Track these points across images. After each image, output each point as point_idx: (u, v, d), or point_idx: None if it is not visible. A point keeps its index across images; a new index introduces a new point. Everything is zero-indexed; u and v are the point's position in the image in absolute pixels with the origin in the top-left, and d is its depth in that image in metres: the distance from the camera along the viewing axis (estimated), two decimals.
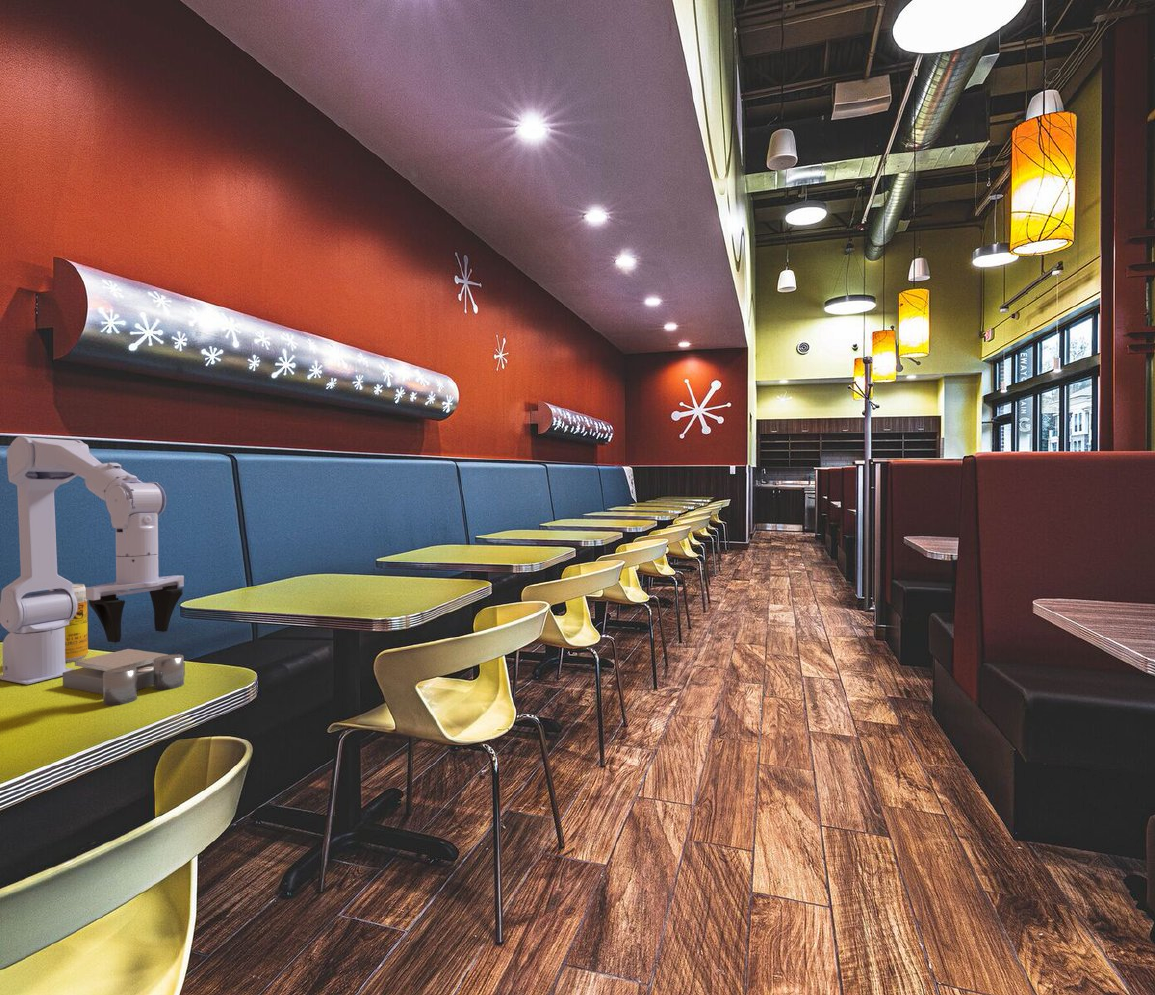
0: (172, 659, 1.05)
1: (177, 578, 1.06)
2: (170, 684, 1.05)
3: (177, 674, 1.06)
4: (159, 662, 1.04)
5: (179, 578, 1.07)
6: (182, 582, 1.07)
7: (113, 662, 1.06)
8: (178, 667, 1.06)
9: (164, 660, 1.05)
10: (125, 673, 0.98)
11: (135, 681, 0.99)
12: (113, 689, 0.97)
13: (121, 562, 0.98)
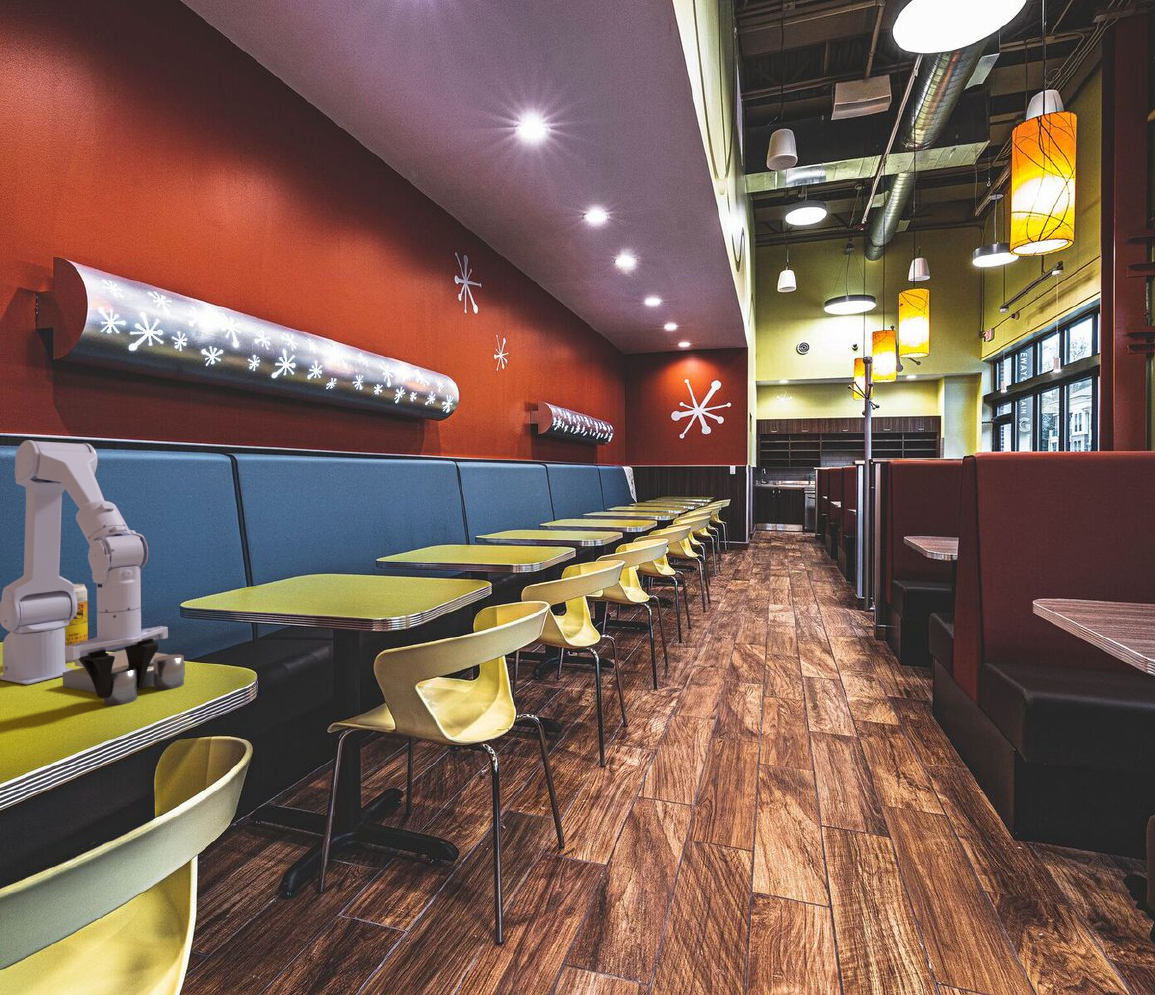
0: (172, 659, 1.05)
1: (161, 630, 1.04)
2: (170, 684, 1.05)
3: (177, 674, 1.06)
4: (159, 662, 1.04)
5: (163, 630, 1.04)
6: (166, 634, 1.05)
7: (113, 662, 1.06)
8: (178, 667, 1.06)
9: (164, 660, 1.05)
10: (125, 673, 0.98)
11: (135, 681, 0.99)
12: (113, 689, 0.97)
13: (102, 618, 0.96)
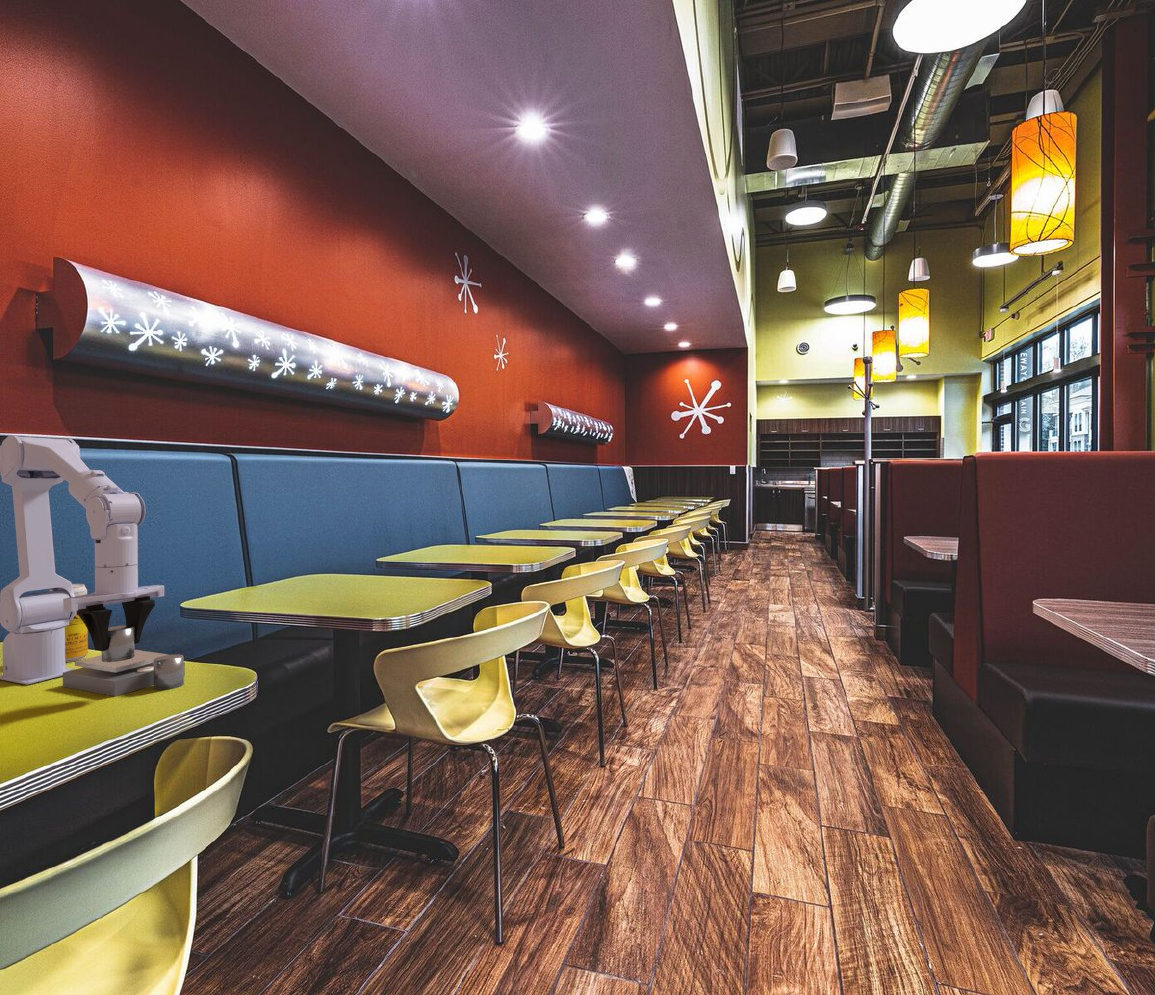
0: (172, 659, 1.05)
1: (157, 588, 1.06)
2: (170, 684, 1.05)
3: (177, 674, 1.06)
4: (159, 662, 1.04)
5: (159, 588, 1.07)
6: (163, 592, 1.07)
7: (113, 662, 1.06)
8: (178, 667, 1.06)
9: (164, 660, 1.05)
10: (122, 631, 1.00)
11: (132, 639, 1.02)
12: (110, 646, 0.99)
13: (100, 573, 0.98)
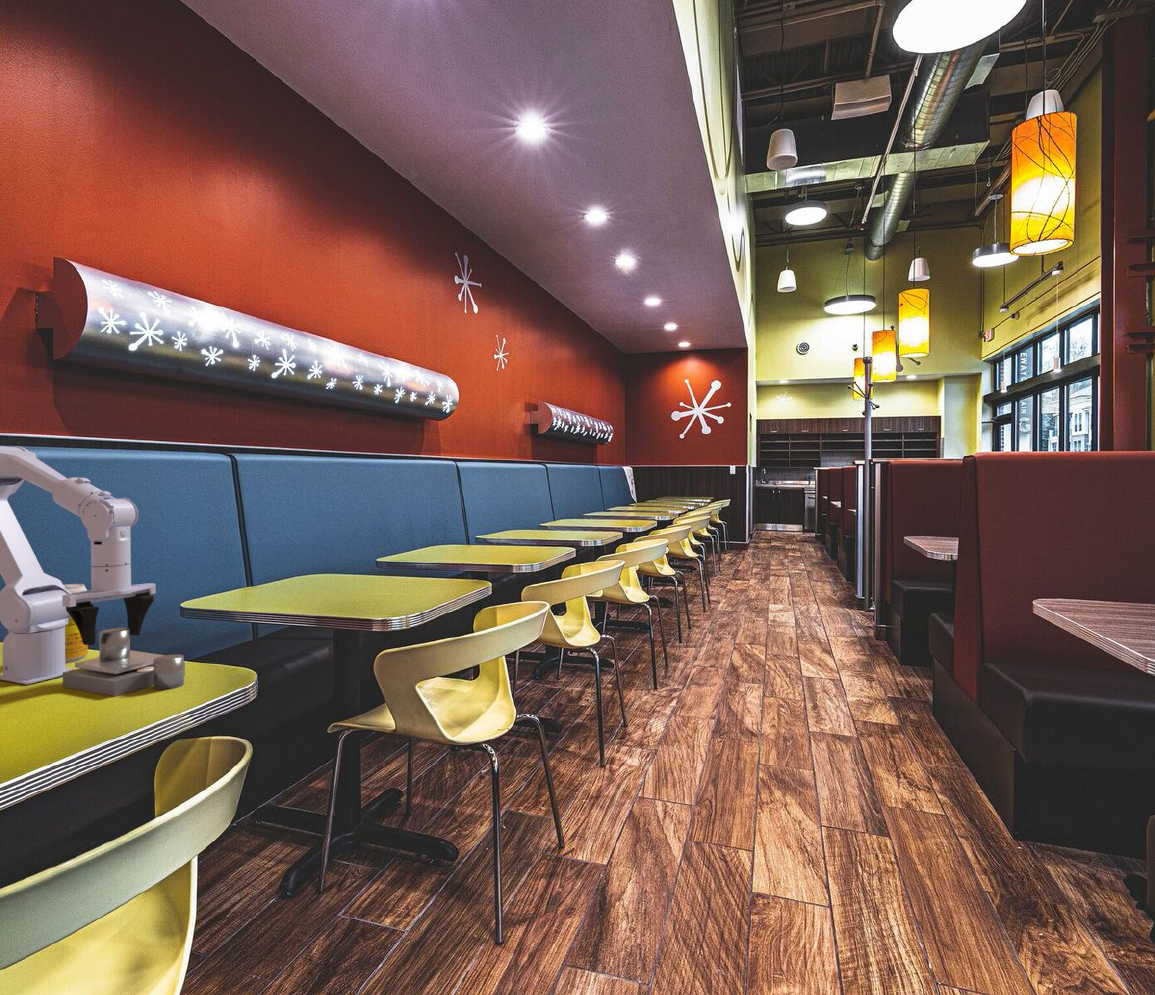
0: (172, 659, 1.05)
1: (149, 586, 1.15)
2: (170, 684, 1.05)
3: (177, 674, 1.06)
4: (159, 662, 1.04)
5: (151, 586, 1.16)
6: (154, 590, 1.16)
7: (113, 663, 1.06)
8: (178, 667, 1.06)
9: (164, 660, 1.05)
10: (116, 633, 1.08)
11: (127, 641, 1.10)
12: (106, 647, 1.08)
13: (96, 572, 1.07)
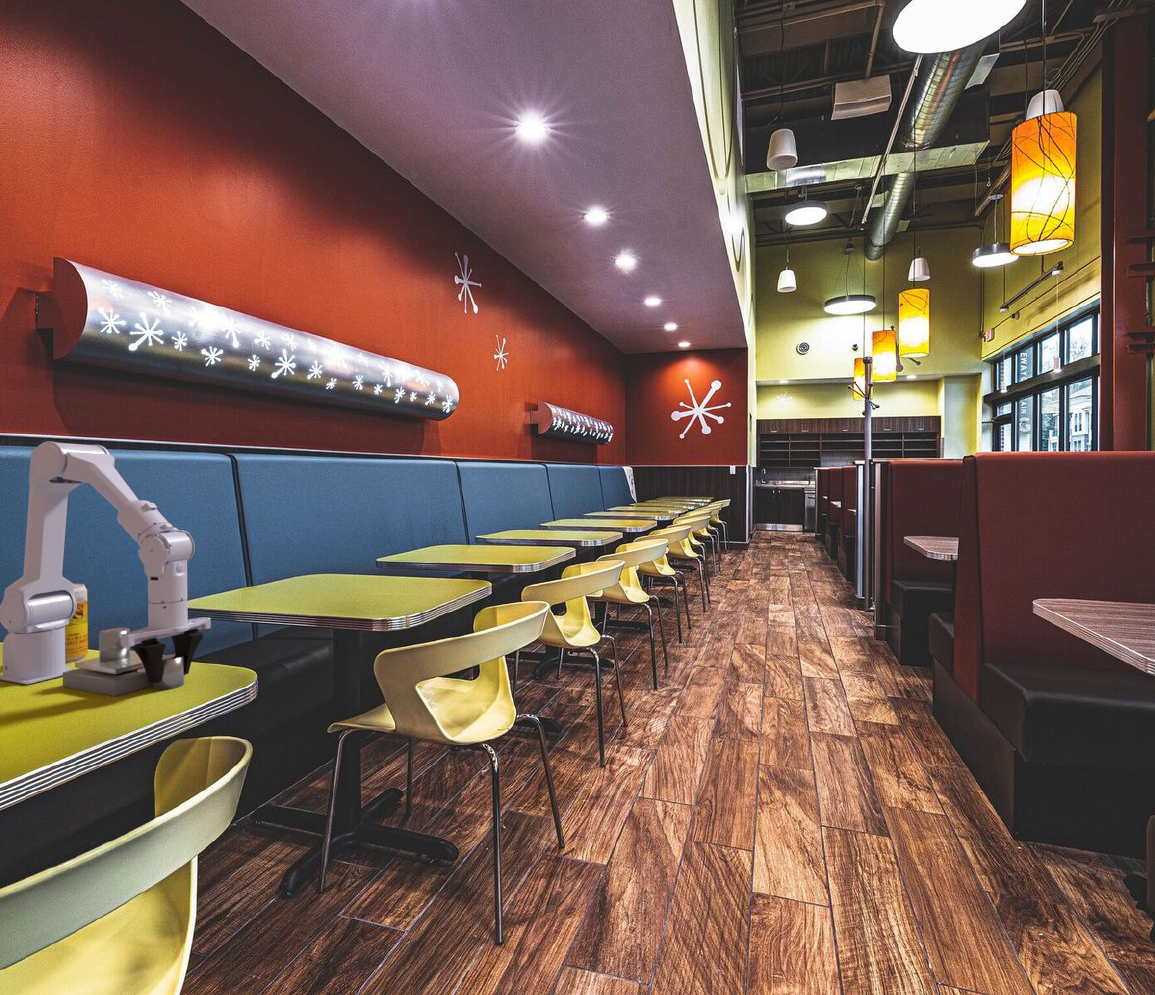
0: (172, 659, 1.05)
1: (204, 620, 1.11)
2: (171, 683, 1.05)
3: (177, 674, 1.06)
4: None
5: (206, 620, 1.12)
6: (209, 624, 1.12)
7: (113, 663, 1.06)
8: (178, 667, 1.06)
9: (164, 660, 1.05)
10: (116, 633, 1.08)
11: None
12: (106, 647, 1.08)
13: (153, 609, 1.03)
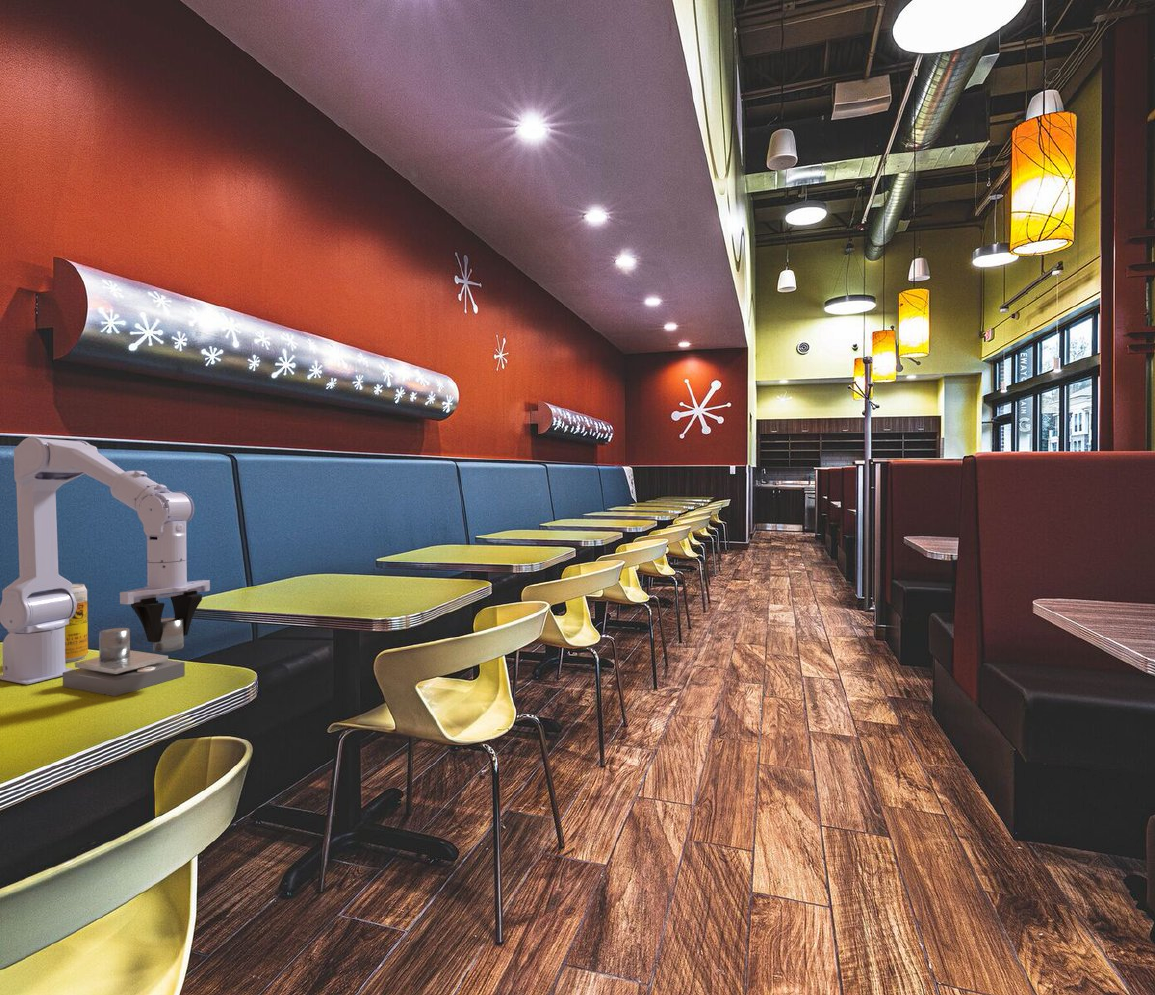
0: (172, 621, 1.05)
1: (204, 583, 1.11)
2: (170, 645, 1.05)
3: (177, 637, 1.06)
4: None
5: (205, 583, 1.12)
6: (208, 587, 1.12)
7: (113, 663, 1.06)
8: (178, 629, 1.06)
9: (164, 622, 1.05)
10: (116, 633, 1.08)
11: (127, 641, 1.10)
12: (106, 647, 1.08)
13: (152, 568, 1.03)
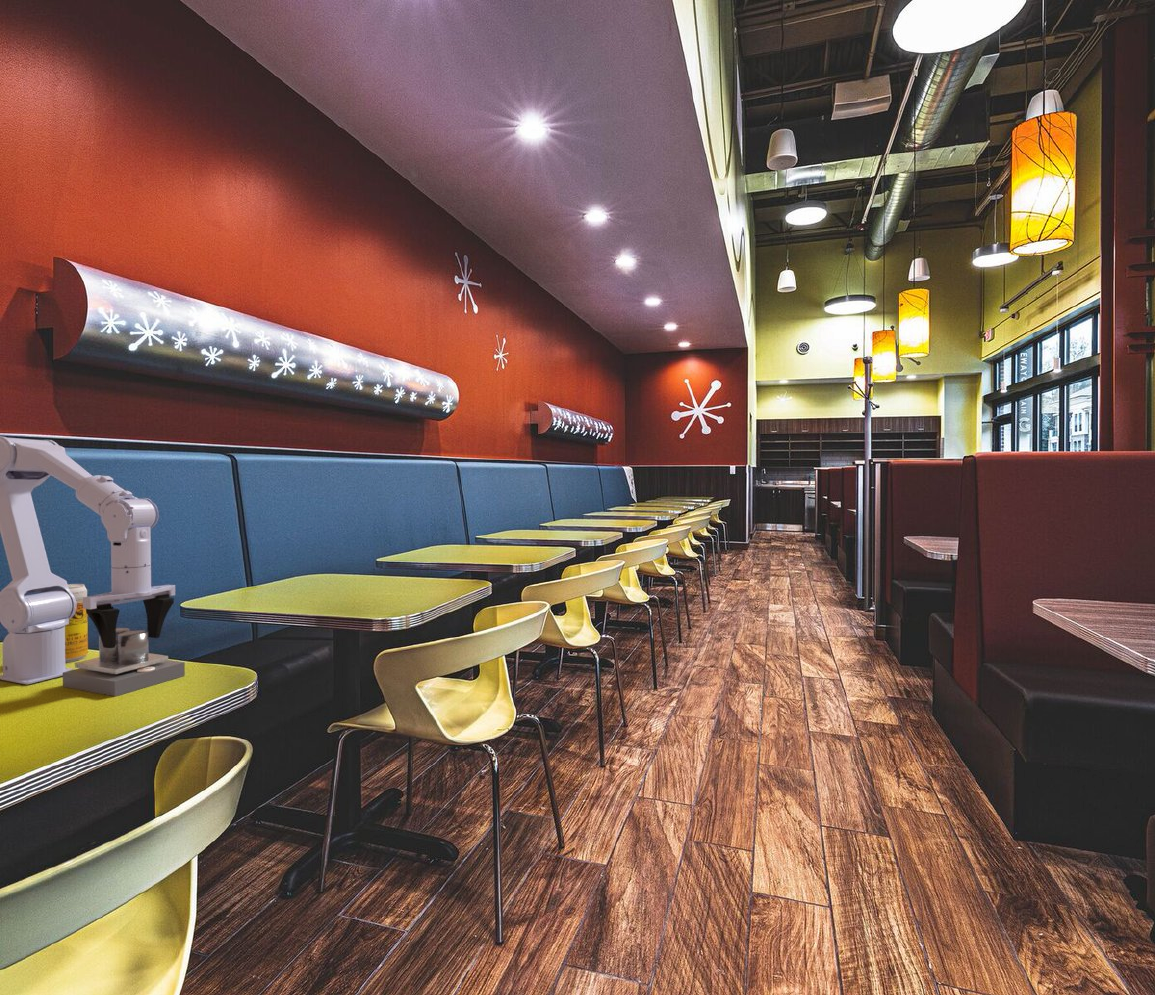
0: (136, 634, 1.07)
1: (169, 587, 1.13)
2: (135, 658, 1.07)
3: (142, 649, 1.07)
4: (123, 637, 1.06)
5: (171, 587, 1.14)
6: (174, 591, 1.14)
7: (113, 664, 1.06)
8: (142, 642, 1.08)
9: (128, 635, 1.07)
10: (116, 633, 1.08)
11: None
12: None
13: (116, 573, 1.05)
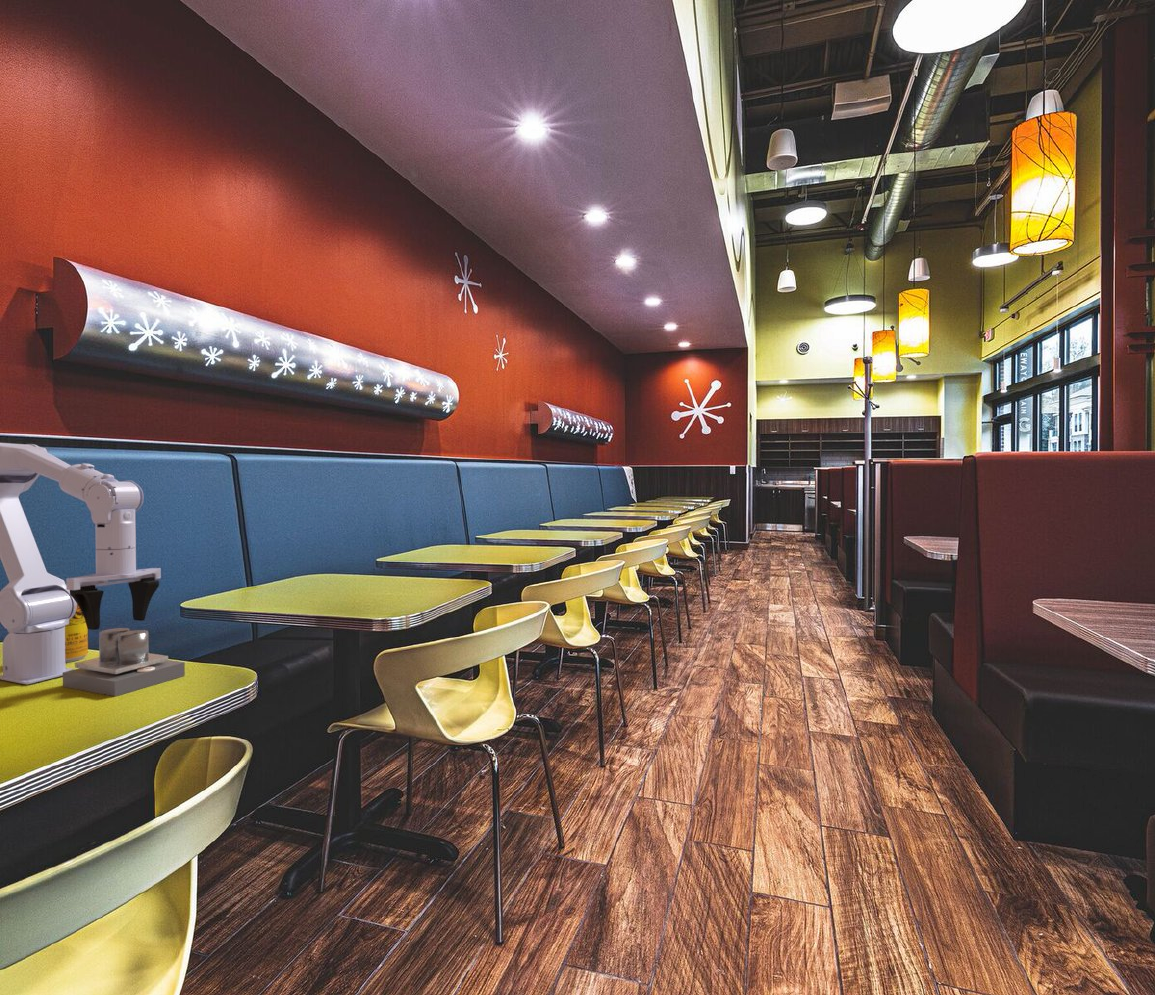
0: (137, 634, 1.07)
1: (154, 570, 1.13)
2: (135, 658, 1.07)
3: (142, 649, 1.07)
4: (124, 637, 1.06)
5: (156, 570, 1.14)
6: (159, 575, 1.14)
7: (113, 664, 1.06)
8: (143, 642, 1.08)
9: (129, 635, 1.06)
10: (116, 633, 1.08)
11: None
12: (106, 647, 1.08)
13: (100, 555, 1.05)
